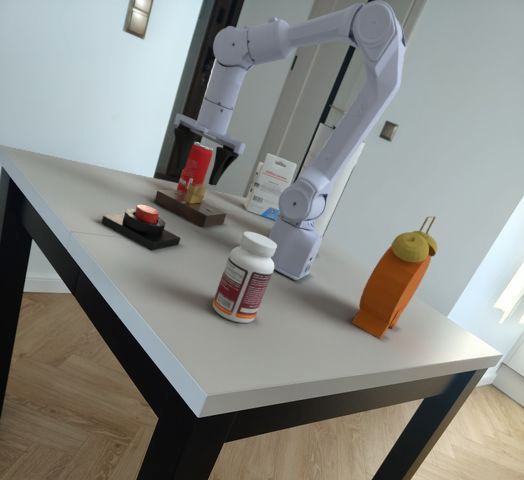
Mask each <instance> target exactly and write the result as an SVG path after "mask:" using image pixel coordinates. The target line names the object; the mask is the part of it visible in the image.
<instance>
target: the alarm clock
mask: <svg viewBox="0 0 524 480" xmlns="http://www.w3.org/2000/svg"><path fill="white" fill-rule="evenodd" d="M430 218H432V220H431V222H430V223H429V224H428V227H427V229H426V231H425V232H424V231H423V229H424V227H425V225H426V223H427V222H428V220H429V219H430ZM435 220H436V215H435V216H434V215H430V216H426V218H425V219H424V221H423V223H422V225H421V226H420V229H419V230H413V231H411V232H410V231H409V232H408V231H407V232H403V233H401V234H398V235H397V236H396V237H395V238H394V239H393V241H392V242H391V246H390V247H389V248H387V250H386V251H384V254H382V256H381V257H380V259H379V260H378V262H377V264H376V265H375V267H374V268H373V270H372V271H371V272H372V273H371V274H370V276H369V277H368V279H367V282H366V283H365V286H364V288H363V289H362V293H361V296H360V300H359V307H358V308H359V310H358V312H357V313H356V315H355V316H354V318H353V319H352V321H351V323H352V324H353V325H355V326H357V327H359V328H360V329H362V330H364V331H365V332H367V333H369V334H371V335H373V336H374V337H376V338H378V339H381V338H382V337H384V336H385V334H386V332H387V331H388V329H389V328H390V329H391V330H393V328H395V327H396V325H397V323H398V321H399V319H400V317H401V315H402V313H403V312H404V310H405V309H406V308H407V306H408V305H409V303H410V302H411V300H412V298H413V297H414V295H415V293H416V292H417V290H418V288H419V286H420V284H421V282H422V280H423V279H424V277H425V275H426V272H427V270H428V268H429V266H430V263H431V260H432V257H435V256H436V254H437V252H438V244H437V241H436V240H435V239H434V238H433V237H432V236H431V235H430V234H429V231H430V229H431V227H432V225H433V224H434V222H435Z"/></svg>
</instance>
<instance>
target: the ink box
mask: <svg viewBox="0 0 524 480" xmlns="http://www.w3.org/2000/svg"><path fill="white" fill-rule="evenodd" d="M276 163H282V165H284V166H281V165H279V164H276ZM297 166H298V165H297V163H295V162H292V161H289V160H287V159H285V158H282V157H279V156H277V155H274V154H272V153H269V152H267V153H266V155H265V158H264V161H263V162H262V161H259V162H258V165H257V167H256V171H255V173H254V176H253V179H252V182H251V184H250V187H249V190H248V193H247V196H246V198H245V202H244V203H243V206H244V209H245V210H246V211H247V212H249V213H252V214H256V215H258V216H261V217H265V218H267V219H270V220H273V221H275V220H276V217H277V215H278V212H279V211H280V210H279V205H278V203H279V197H280V195H281V193H282V192H283V191H284V190H285V189H286V188H287V187H289V186H291V185H292V181H293V177H294V175H295V171H296V169H297Z"/></svg>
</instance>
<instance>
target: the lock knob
mask: <svg viewBox="0 0 524 480" xmlns="http://www.w3.org/2000/svg"><path fill="white" fill-rule="evenodd" d="M207 188H208V186H206V185H204V184H203V185H202V184H194V183H191V184H189V187H188V191H187V194H186V197H185V200H184V201H186V202H188V203H190V204H191V203H202V200H204V197H205V194H206V192H207Z"/></svg>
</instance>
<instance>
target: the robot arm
mask: <svg viewBox="0 0 524 480" xmlns="http://www.w3.org/2000/svg"><path fill="white" fill-rule="evenodd" d="M339 41H342V42H343V43H345V44H347V45H349V46H351V47H353V48H355V49H357V50H360V52H361V54H362V57H363V63H364V69H365V75H366V81H365V83H364V84H363V86H362V87H361V89H360V90H359V92H358V93H357V95H356V96H355V98H354V99H353V101H352V103H351V104H350V106H348V108H347V109H346V111H345V113H344V114H343V116H342V118H341V119H340V120H339V122H338V124H337V125H336V126H335V127H336V128H335V130H334V131H333V133H332V134H331V136H330V137H329V139H328V140H327V142H326V143H325V145H324V146H323V148H322V149H321V151H320V152H319V154H318V155H317V157H316V158H315V160H314V161H313V163H312V164H311V166H310V167H309V168H308V169H307V170H306V171H304V172H303V173H302V174H301V175H300V176H299V175H298V177H297V179H296V180H295V182H293V184H292V183H291V184H290V186H289V187H287V188H286V189H285V190H284V191H283V192H282V193H281V195H280V197H279V203H278V205H279V210H280V211H279V212H278V215H277V217H276V220H274V223H273V225H272V227H271V230H270V232H269V234H268V237H267V238H269V239H271V240H272V241H273V242H275V243H276V245H277V248H276V250H275V253H274V255H273V256H271V259H272V261H273V262H274V270H275V271H276V272H278V273H280V274H281V275H284V276H285V277H287V278H290V279H292V280H294V281H298V280H300V279H302V278H304V277H306V276H308V275H309V274H310V270H311V268H312V266H313V263H314V261H315V259H316V257H317V255H318V252H319V250H320V248H321V246H322V243H323V238H324V236H323V237H322V235H320V234H319V233H317V232H315V231H314V230H313V229H314V227H315V219H317V218H318V217H320V216H321V215H322V214H323V213H324V211H325V209H326V204H327V200H328V197H329V195H330V194H331V192H332V191H333V187H334V182H335V181H336V179H337V178H338V176H339V175H340V173H341V172H342V171H343V169H344V168H345V166H346V165H347V163H348V162H349V160H350V159H351V158H352V156H353V155H354V153H355V152H356V150H357V149H358V148H359V146H360V145H361V143H362V142H364V141H365V139H366V138H367V136H368V135H369V134H370V132H371V131H372V129H373V127H374V126H375V125H376V123H377V122H378V121H379V119H380V118H381V116H382V115H383V114H384V112H385V110H386V109H387V107H388V106H389V105H390V103H391V102H392V100H393V99H394V98H395V96H396V94H397V93H398V91H399V90H400V87H401V84H402V77H403V69H404V62H405V61H404V60H405V54H406V51H407V47H408V45H407V39H406V37H405V31H404V27H403V25H402V24H401V22H400V21H399V20H398V19H397V16H396V14H395V12H394V10H393V8H392V6H391V5H390V4H388V2H386V1H384V0H372V1H369V2H367V3H364V2H363V3H362V2H360V3H354V4H352V5H349V6H348V7H346V8H343V9H340V10H337V11H334V12H331V13H327V14H324V15H321V16H318V17H314V18H311V19H308V20H304V21H302V22H298V23H294V24H292V25H291V24H289V23H287V22H286V21H285V20H284V19H279V18H278V17H276V16H272V17H268V21H267V22H266V23H261V24H257V25H253V26H251V25H249V24H245V25H243V26H242V29H241V30H240V29H238V28H237V27H235V26H231V25H228V26H226V27H225V28H223V29H220V30H219V31H218V32H217V34H216V36H215V38H214V41H213V45H212V50H213V56H214V57H215V59H214V62H213V65H212V68H211V72H210V75H209V79H208V82H207V86H206V89H205V92H204V96H203V98H202V102H201V105H200V109H199V112H198V116H197V120H196V119H193V118H191V117H189V116H187V115H184V114H182V113H176V115H175V119H174V122H173V124H174V125H176V126H177V127H174V130H173V134H174V138H175V144H176V169H178V170H183V169H185V167H186V164H187V161H188V157H189V154H190V151H191V149H192V146H193V144H194V142H196V140H197V138H198V137H199V136H201V137H203V138H204V139H207V140H209V141H211V142H214V143H215V144H218V145H219V146H216V149H215V157H214V163H213V167H212V170H211V172H210V176H209V179H208V185H210V186H217V185H218V183H219V181H220V179H221V178H222V176H223V174H225V172H226V171H227V169H228V168H229V167H230V166H231V165H232V164H233V163H234V162H235V161H236V160H237V159H238V158H239V156H240V155H243V154H244V150H245V148H246V143H244V142H243V141H240V140H238V139H237V138H234V137H233V136H230V135H228V134H227V131H228V128H229V125H230V122H231V119H232V116H233V112H234V109H235V106H236V103H237V100H238V97H239V94H240V91H241V88H242V85H243V82H244V80H245V77H246V74H247V73H248V72H249V71H251V69H253V67H254V66H258V65H262V64H267V63H271V62H276V61H279V60H280V61H281V60H285V59H289V57H290V56H291V54H292V53H293V51H294V50H295V49H298V48H303V47H310V46H315V45H322V44H327V43H328V44H329V43H333V42H339Z"/></svg>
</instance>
